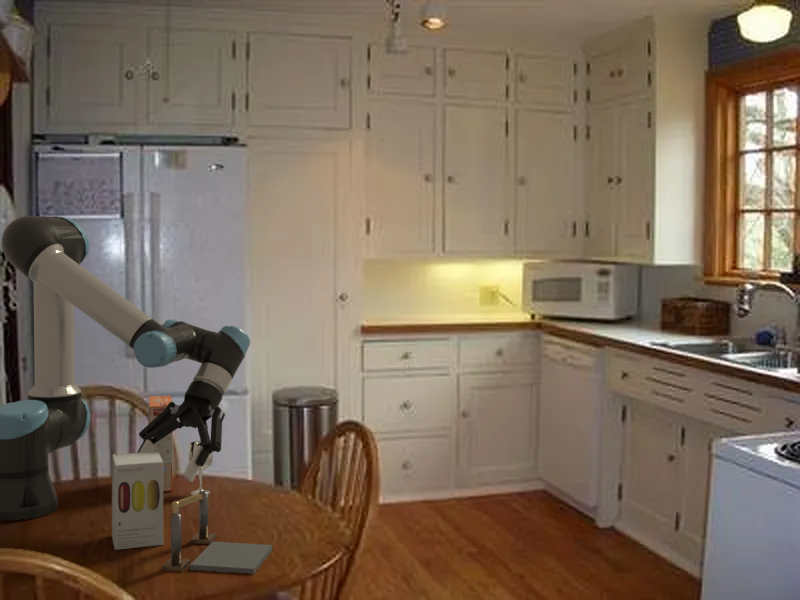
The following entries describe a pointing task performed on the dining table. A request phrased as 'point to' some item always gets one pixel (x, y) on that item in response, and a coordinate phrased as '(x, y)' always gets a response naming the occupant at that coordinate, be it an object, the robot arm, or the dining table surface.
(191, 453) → the wineglass
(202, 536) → the small hurdle
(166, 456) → the cracker box
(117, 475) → the supplement box
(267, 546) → the mat
